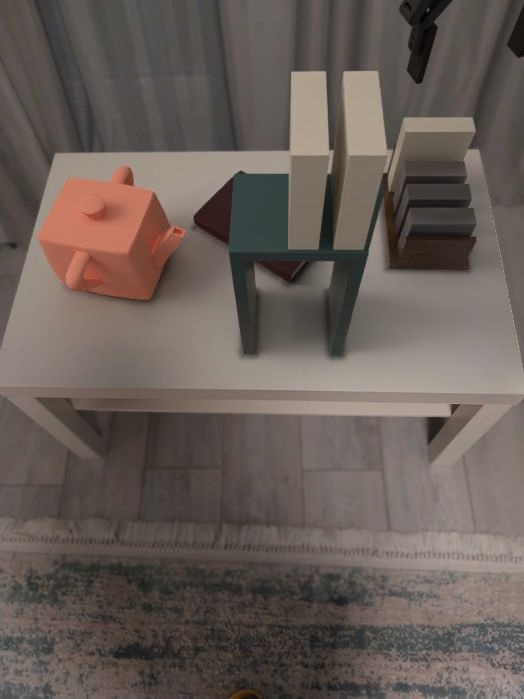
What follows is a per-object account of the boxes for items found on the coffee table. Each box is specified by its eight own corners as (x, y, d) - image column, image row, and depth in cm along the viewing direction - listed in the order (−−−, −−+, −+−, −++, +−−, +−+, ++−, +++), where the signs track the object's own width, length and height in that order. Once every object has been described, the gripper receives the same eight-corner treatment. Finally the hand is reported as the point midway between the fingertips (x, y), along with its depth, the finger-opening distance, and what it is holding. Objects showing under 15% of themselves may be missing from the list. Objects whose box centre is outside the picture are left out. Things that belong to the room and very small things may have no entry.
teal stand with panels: (338, 292, 75) (384, 68, 43) (341, 355, 71) (394, 157, 38) (246, 291, 76) (222, 69, 43) (243, 354, 71) (214, 158, 39)
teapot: (49, 314, 75) (3, 259, 62) (101, 204, 84) (70, 137, 72) (174, 338, 73) (152, 286, 60) (214, 222, 82) (202, 156, 69)
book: (289, 286, 76) (290, 274, 73) (194, 227, 81) (191, 214, 78) (335, 233, 80) (337, 220, 77) (241, 181, 86) (240, 166, 83)
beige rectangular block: (449, 191, 82) (475, 131, 71) (388, 191, 82) (405, 131, 71) (447, 178, 83) (472, 117, 72) (387, 178, 84) (403, 117, 73)
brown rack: (467, 269, 76) (490, 231, 68) (388, 269, 77) (402, 231, 69) (450, 177, 85) (468, 133, 76) (379, 177, 85) (390, 134, 77)
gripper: (651, -221, 44) (538, 23, 63) (395, -172, 41) (358, 68, 61) (709, -189, 41) (572, 58, 60) (436, -132, 38) (384, 108, 57)
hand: (465, 63), depth 60 cm, fingers open, 13 cm apart
